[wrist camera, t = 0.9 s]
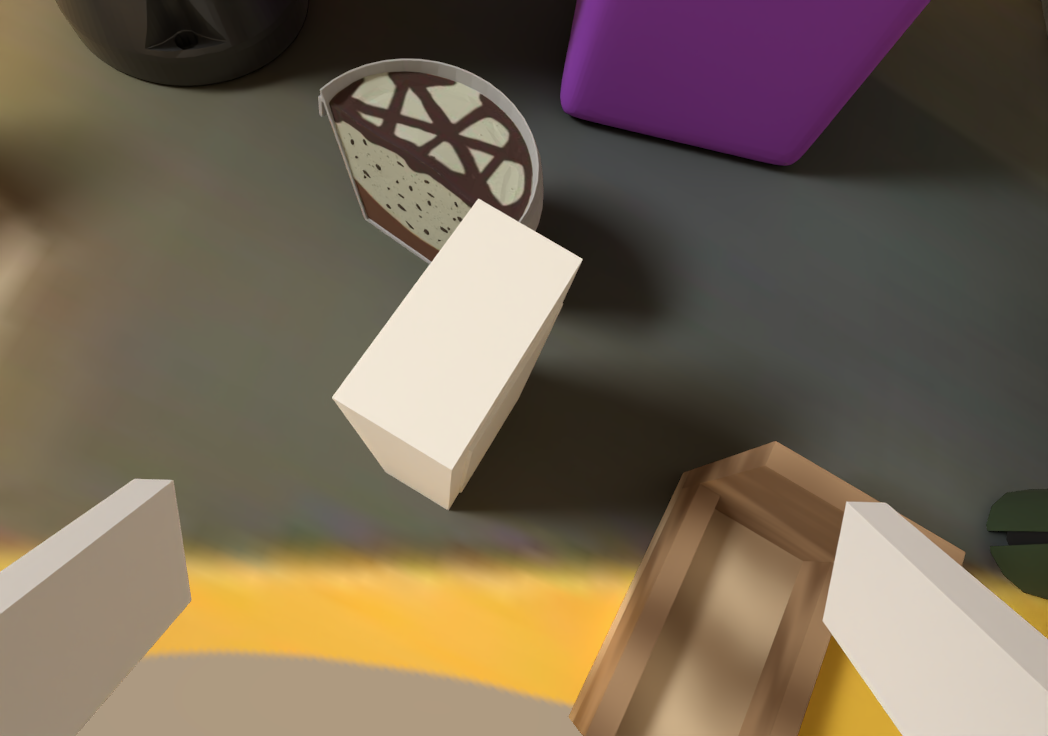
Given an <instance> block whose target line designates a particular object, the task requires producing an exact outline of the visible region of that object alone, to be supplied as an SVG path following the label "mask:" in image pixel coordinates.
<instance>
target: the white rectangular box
mask: <svg viewBox="0 0 1048 736" xmlns="http://www.w3.org/2000/svg"><path fill="white" fill-rule="evenodd" d="M582 260H583V259H582V258H580V257H578V256H577V255H575V254H573V253H571V252H570V251H568V250H566V249H564V248H563V247H561V246H559V245H558V244H556V243H554V242H552V241H551V240H549V239H547V238H546V237H544V236H542V235H540V234H539V233H537V232H535V231H533V230H532V229H530V228H528V227H527V226H525V225H523V224H521V223H520V222H518V221H516V220H515V219H513V218H511V217H509V216H508V215H506V214H504V213H502V212H501V211H499V210H497V209H496V208H494V207H492V206H490V205H489V204H487V203H485V202H484V201H482V200H480V199H478V200H477V201H476V202H475V204H474V205H473V206H472V208H471V209H470V210H469V212H468V213H467V215H466V216H465V217H464V219H463V220H462V221H461V223H460V224H459V225H458V227H457V228H456V229H455V231H454V232H453V234H452V235H451V236H450V238H449V239H448V240H447V242H446V243H445V244H444V246H443V247H442V249H441V250H440V251H439V253H438V254H437V255H436V257H435V258H434V259H433V261H432V262H431V264H430V265H429V266H428V268H427V269H426V270H425V272H424V273H423V274H422V276H421V277H420V278H419V280H418V281H417V283H416V284H415V285H414V287H413V288H412V289H411V291H410V292H409V293H408V295H407V296H406V298H405V299H404V300H403V302H402V303H401V304H400V306H399V307H398V308H397V310H396V311H395V312H394V314H393V315H392V317H391V318H390V319H389V321H388V322H387V323H386V325H385V326H384V327H383V329H382V330H381V332H380V333H379V334H378V336H377V337H376V338H375V340H374V341H373V342H372V344H371V345H370V347H369V348H368V349H367V351H366V352H365V353H364V355H363V356H362V357H361V359H360V360H359V361H358V363H357V364H356V366H355V367H354V368H353V370H352V371H351V372H350V374H349V375H348V376H347V378H346V379H345V381H344V382H343V383H342V385H341V386H340V387H339V389H338V390H337V391H336V393H335V394H334V395H333V397H332V398H333V400H334V401H335V402H336V404H337V405H338V406H339V408H340V409H341V411H342V412H343V413H344V415H345V416H346V418H347V419H348V420H349V422H350V423H351V425H352V426H353V427H354V429H355V430H356V432H357V433H358V434H359V436H360V437H361V438H362V440H363V441H364V443H365V444H366V445H367V447H368V448H369V450H370V451H371V452H372V454H373V455H374V457H375V458H376V459H377V461H378V462H379V463H380V465H381V466H382V468H383V469H384V470H385V472H386V473H388V474H389V475H391V476H393V477H394V478H396V479H398V480H399V481H401V482H403V483H404V484H406V485H407V486H409V487H411V488H412V489H414V490H416V491H417V492H419V493H421V494H422V495H424V496H425V497H427V498H429V499H430V500H432V501H434V502H435V503H437V504H439V505H440V506H442V507H443V508H445V509H447V510H449V509H450V507H451V505H452V504H453V502H454V500H455V499H456V497H457V496H458V494H459V492H460V493H462V491H463V489H464V488H465V486H466V484H467V483H468V481H469V479H470V478H471V476H472V475H473V473H474V471H475V470H476V468H477V466H478V465H479V463H480V461H481V460H482V458H483V456H484V455H485V453H486V451H487V450H488V448H489V447H490V445H491V443H492V442H493V440H494V438H495V437H496V435H497V433H498V432H499V430H500V428H501V427H502V425H503V423H504V422H505V420H506V419H507V417H508V415H509V414H510V412H511V410H512V409H513V407H514V405H515V404H516V402H517V400H518V399H519V397H520V394H521V392H522V390H523V388H524V386H525V384H526V382H527V380H528V378H529V375H530V373H531V371H532V369H533V367H534V365H535V363H536V361H537V359H538V357H539V354H540V352H541V350H542V348H543V346H544V344H545V342H546V340H547V338H548V335H549V333H550V331H551V329H552V327H553V325H554V323H555V321H556V319H557V316H558V314H559V312H560V310H561V308H562V306H563V301H564V299H565V296H566V294H567V292H568V290H569V288H570V286H571V284H572V281H573V279H574V277H575V275H576V273H577V271H578V269H579V266H580V264H581V262H582Z"/></svg>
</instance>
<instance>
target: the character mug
mask: <svg viewBox="0 0 1048 736" xmlns="http://www.w3.org/2000/svg"><path fill="white" fill-rule="evenodd" d="M986 526H987V530H988V531H1007V541H1008V544H1009V546H990V550H991V554H992V556H993V557H994V559H995V561H996V563H997V564H998V566H999V568H1000V569H1001V571H1002V573H1003V575H1005V576H1006V577H1007V578H1008V579H1009V580H1010V581H1011V582H1013V583H1014V584H1015V585H1016V586H1017V587H1018V588H1020V589H1021V590H1022V591H1023V592H1025V593H1028V594H1031V595H1035V596H1038V597H1041V598H1045V599H1048V489H1030V490H1023V491H1016V492H1009V493H1006V494H1005V495H1004V496H1002V497H1001V498H1000V499H999V500H998V501H997V502H996V503H995V504H994V505H992V508H991V511H990V514H989V518H988V521H987V524H986Z"/></svg>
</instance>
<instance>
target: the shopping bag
mask: <svg viewBox="0 0 1048 736" xmlns="http://www.w3.org/2000/svg"><path fill="white" fill-rule="evenodd" d="M930 1H931V0H577V2H576V8H575V13H574V18H573V24H572V29H571V34H570V39H569V45H568V50H567V55H566V60H565V66H564V71H563V77H562V83H561V92H560V100H561V105H562V108H563V110H564V111H565V112H566V113H567V114H569V115H571V116H574V117H577V118H580V119H584V120H587V121H591V122H595V123H600V124H604V125H608V126H612V127H616V128H620V129H625V130H629V131H633V132H637V133H642V134H646V135H650V136H654V137H659V138H663V139H667V140H671V141H675V142H680V143H684V144H688V145H692V146H697V147H701V148H705V149H709V150H714V151H718V152H722V153H726V154H730V155H735V156H739V157H743V158H747V159H752V160H756V161H761V162H765V163H770V164H775V165H784V166H786V165H791V164H793V163H794V162H796V161H797V160H798V159H800V158H801V156H802V155H803V154H804V153H805V152H806V151H807V150H808V149H809V148H810V146H811V145H812V144H813V143H814V142H815V140H816V139H817V138H818V137H819V136H820V134H821V133H822V132H823V131H824V130H825V128H826V127H827V126H828V125H829V123H830V122H831V121H832V120H833V119H834V117H835V116H836V115H837V114H838V113H839V111H840V110H841V109H842V108H843V106H844V105H845V104H846V103H847V102H848V100H849V99H850V98H851V97H852V95H853V94H854V93H855V92H856V91H857V89H858V88H859V87H860V86H861V85H862V83H863V82H864V81H865V80H866V78H867V77H868V76H869V75H870V74H871V72H872V71H873V70H874V69H875V67H876V66H877V65H878V64H879V63H880V61H881V60H882V59H883V58H884V57H885V55H886V54H887V53H888V52H889V50H890V49H891V48H892V47H893V46H894V44H895V43H896V42H897V41H898V40H899V38H900V37H901V36H902V35H903V33H904V32H905V31H906V30H907V29H908V27H909V26H910V25H911V24H912V23H913V21H914V20H915V19H916V18H917V17H918V15H919V14H920V13H921V12H922V10H923V9H924V8H925V7H926V6H927V4H928V3H929V2H930Z"/></svg>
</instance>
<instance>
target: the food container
mask: <svg viewBox="0 0 1048 736" xmlns="http://www.w3.org/2000/svg"><path fill="white" fill-rule="evenodd" d="M320 93H321V95H320V96H318V102H319V114H320V115H321V116H324V115H325V114H326V113H327V115H328V117H329V120H330V123H331V126H332V129H333V132H334V134H335V137H336V140H337V143H338V146H339V149H340V151H341V154H342V157H343V160H344V163H345V166H346V168H347V171H348V174H349V177H350V180H351V182H352V185H353V188H354V191H355V194H356V197H357V199H358V202H359V205H360V208H361V211H362V214H363V216H364V219H365V220H366V221H368V222H369V223H371V224H372V225H374V226H375V227H376V228H378V229H379V230H381V231H382V232H384V233H385V234H386V235H388V236H389V237H391V238H392V239H394V240H395V241H396V242H398V243H399V244H401V245H402V246H404V247H405V248H407V249H408V250H409V251H411V252H412V253H414V254H415V255H417V256H418V257H419V258H421V259H422V260H424V261H425V262H427V263H428V264H429V265H430V264H431V262H432V261H433V259H434V258H435V257H436V255H437V254H438V253H439V251H440V250H441V249H442V247H443V246H444V244H445V243H446V242H447V240H448V239H449V238H450V236H451V235H452V234H453V232H454V231H455V229H456V228H457V227H458V225H459V224H460V223H461V221H462V220H463V219H464V217H465V216H466V215H467V213H468V212H469V210H470V209H471V208H472V206H473V205H474V204H475V202H476V201H477V200H478V199H480V200H482V201H484V202H485V203H487V204H489V205H490V206H492V207H494V208H496V209H497V210H499V211H501V212H502V213H504V214H506V215H508V216H509V217H511V218H513V219H515V220H516V221H518V222H520V223H521V224H523V225H525V226H527V227H528V228H530V229H532V230H533V231H536V229H537V227H538V224H539V221H540V216H541V212H542V208H543V192H544V189H543V174H542V166H541V158H540V154H539V151H538V148H537V144H536V141H535V139H534V137H533V135H532V132H531V130H530V128H529V126H528V125H527V123H526V121H525V119H524V117H523V116H522V115H521V113H520V112H519V110H518V109H517V108H516V106H515V105H514V104H513V103H512V102H511V101H510V100H509V99H508V98H507V97H506V96H505V95H504V94H503V93H502V92H501V91H499V90H498V89H497V88H495V87H494V86H493V85H492V84H490V83H489V82H487V81H486V80H484V79H482V78H480V77H479V76H477V75H475V74H473V73H471V72H468V71H466V70H464V69H461V68H459V67H456V66H453V65H449V64H445V63H442V62H438V61H431V60H424V59H392V60H383V61H378V62H374V63H370V64H366V65H363V66H360V67H358V68H355V69H352V70H350V71H347V72H346V73H344V74H342V75H340V76H338V77H337V78H335V79H333V80H331V81H330V82H329V83H327V84H326V85H325V86H323V87H322V88H321V89H320Z"/></svg>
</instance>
